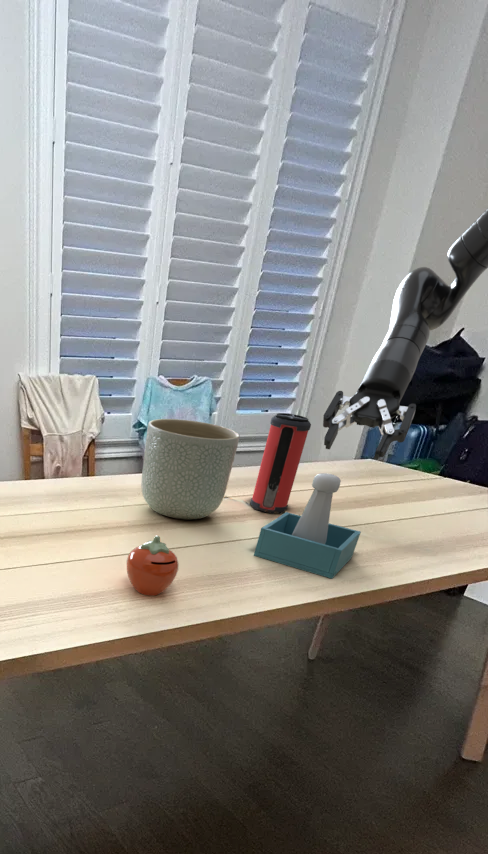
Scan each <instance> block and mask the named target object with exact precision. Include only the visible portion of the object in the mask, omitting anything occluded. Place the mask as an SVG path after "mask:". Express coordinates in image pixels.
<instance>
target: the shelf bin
mask: <svg viewBox="0 0 488 854" xmlns="http://www.w3.org/2000/svg"><path fill="white" fill-rule="evenodd" d="M300 517H301V515H300V514H295V513H292V512H288V511H285V512H283V513H282V514H281V515H279V516H278V517H276V518H275V519H273V520H272V521H270V522H268V523H267V524H265V525H264V526H262V527H261V528H260V530H259V535H258V538H257V541H256V546H255V550H254V554H253V556H254V557H258V558H260V559H265V560H268V561H271V562H275V563H277V564H281V565H284V566H288V567H291V568H295V569H298V570H301V571H304V572H307V573H312V574H314V575H318V576H321V577H324V578H329V579H333V578H334V577H335V576H336V575H338V573H339V572H340V571H341V570H342V569H343V568H344V567H345V566H346V565H347V563H348V562H350V561H351V559H352V558H353V555H354V553H355V550H356V548H357V544H358V541H359V539H360V535H361V533H362V532H361V530H357V529H352V528H348V527H345V526H341V525H337V524H334V523H330V522H329V525H328V532H327V540H326V543H325V544H322V543H318V542H314V541H311V540H307V539H304V538H300V537H296V536H293V535H292V533H293V531H294V529H295V527H296V525H297V523H298V521H299V519H300Z"/></svg>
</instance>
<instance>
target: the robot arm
mask: <svg viewBox="0 0 488 854" xmlns="http://www.w3.org/2000/svg"><path fill="white" fill-rule="evenodd" d="M446 258H447V261H448V263H449V266H450V268H451V269H452V271H453V272H454V275H455V277H454V280H453V281H452V282H451V284H447V283H446V281H445V280H444V279H442V277H441V276H439V275H438V274H437V273H436V272H435V271H434V270H433V269H431V268H430V267H427V266H420V267H417V268H415V269H413V270H412V271H410V272H409V273H408V274H407V275H406V276H405V277H404V278H403V279H402V281H401V282H400V284H399V285H398V288H397V289H396V292H395V294H394V297H393V300H392V305H391V312H390V319H389V323H388V330H387V332H386V335H385V337H384V338H383V341H382V343H381V345H380V347H379V349H378V350H377V352H376V353H375V355H374V356H373V358H372V360H371V362H370V364H369V366H368V368H367V369H366V372H365V374H364V376H363V378H362V380H361V382H360V385H359V386H358V389H357V390H356V392H355V393H354V394H353V395H352V396H349V395H344V391H343V390H338V391H336V393H335V394H334V395H333V398H332V400H331V401H330V403H329V405H328V407H327V408H326V410H325V412H324V414H323V420H322V426H323V428H327V431H326V433H325V435H324V438H323V439H324V441H323V446H325V450H331V447H332V446H333V444H334V442H335V440H336V438H337V436H338V433H339V431H341V430H343V429H344V428H346V429H347V428H349V427H351V426H353V425H355V424H356V425H357V426H366V427H368V428H372V429H375V428H376V427H378V429H379V432H380V435H382V437H381V439H380V441H379V444H378V445H377V447H376V450H375V452H374V456H373V459H374V460H376V461H379V460H380V458H383V457H385V456H386V454H387V451H388V449H389V447H390V445H391V444H392V443H393V442H397V443H400V444H401V443H404V442H405V440H406V437H407V435H408V433H409V430H410V428H411V424H412V423H413V420H414V417H415V414H416V409H417V405H416V403H410V404H408V406H405V405H400V403H401V402H402V399H403V397H404V395H405V392H406V390H407V389H408V387H409V384H410V382H411V381H412V379H413V377H414V374H415V372H416V369H417V367H418V363H419V360H420V358H421V356H422V354H423V352H424V350H425V347H426V346H427V343H428V341H429V338H430V334H431V331H433V330H436V329H438V328H440V327H441V326H442V325H444V324H445V323H446V322H447V320H449V318H450V317H451V316H452V314H453V313H454V311H455V310H456V308H457V307H458V305H459V304H460V302H461V301H462V299H463V298H464V296H466V294H467V292H468V291H469V290H470V289H471V287H472V286H473V285H474V284H475V282H476V281H477V280H478V278H480V277H481V275H482V274H484V272H485V271H486V270H487V269H488V208H486V210H484V211H483V212H482V213H481V215H479V216H478V217H477V218H476V220H475V221H473V223H472V224H471V225H470V226H469V227H467V229H466V230H465V231H464V232H462V234H461V235H460V236H459V237H458V238H457V239H455V241H454V242H453V243H452V245H451V246H450V247H449V248H448V251H447V257H446ZM345 406H348V407H346V408H345ZM344 408H345V409H344ZM342 409H344V410H343V412H341V413H340V414H338V412H339V410H340V411H341V410H342ZM336 415H337V416H336ZM397 415H399V419H400V420H401V424H400V426H399V429H398V428H397V429H395V428H394V425H393V422H392V419H393V418H394V417H397Z"/></svg>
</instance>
